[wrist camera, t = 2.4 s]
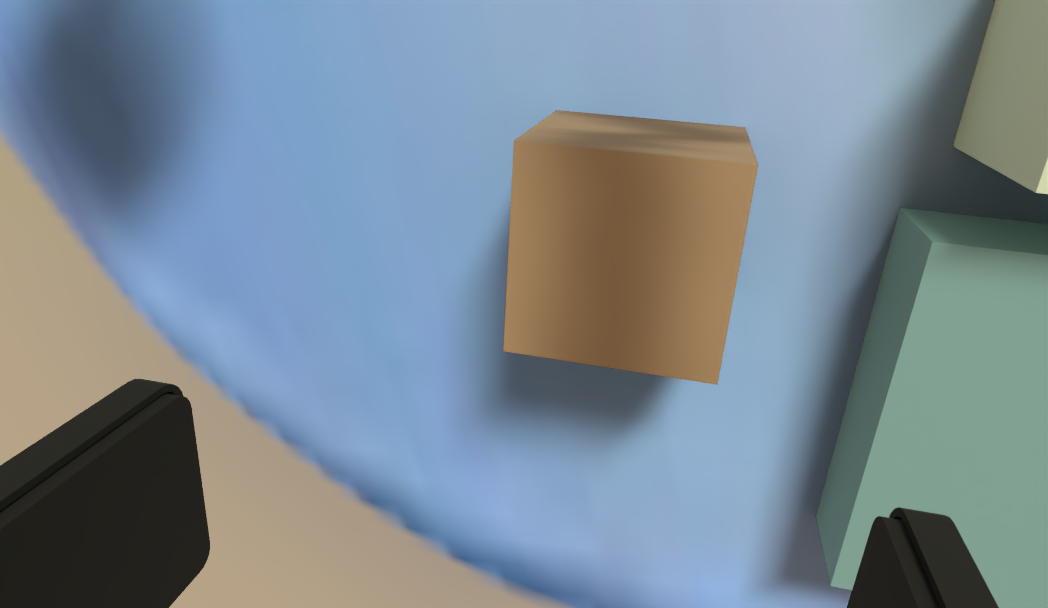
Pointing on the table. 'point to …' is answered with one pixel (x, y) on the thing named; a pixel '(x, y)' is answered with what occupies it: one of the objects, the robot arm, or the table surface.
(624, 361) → the walnut cube
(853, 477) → the base block
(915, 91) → the table surface
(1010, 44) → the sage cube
